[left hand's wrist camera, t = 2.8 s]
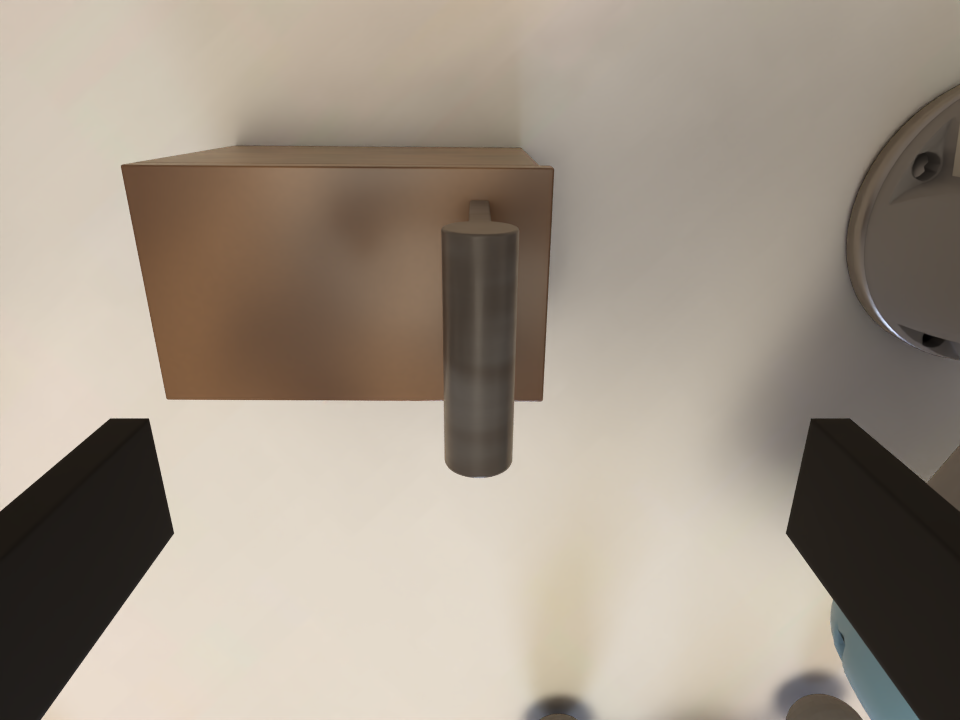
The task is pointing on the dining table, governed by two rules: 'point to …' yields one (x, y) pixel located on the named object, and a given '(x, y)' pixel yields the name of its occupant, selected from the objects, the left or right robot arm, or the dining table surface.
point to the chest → (355, 155)
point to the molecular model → (794, 710)
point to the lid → (352, 287)
